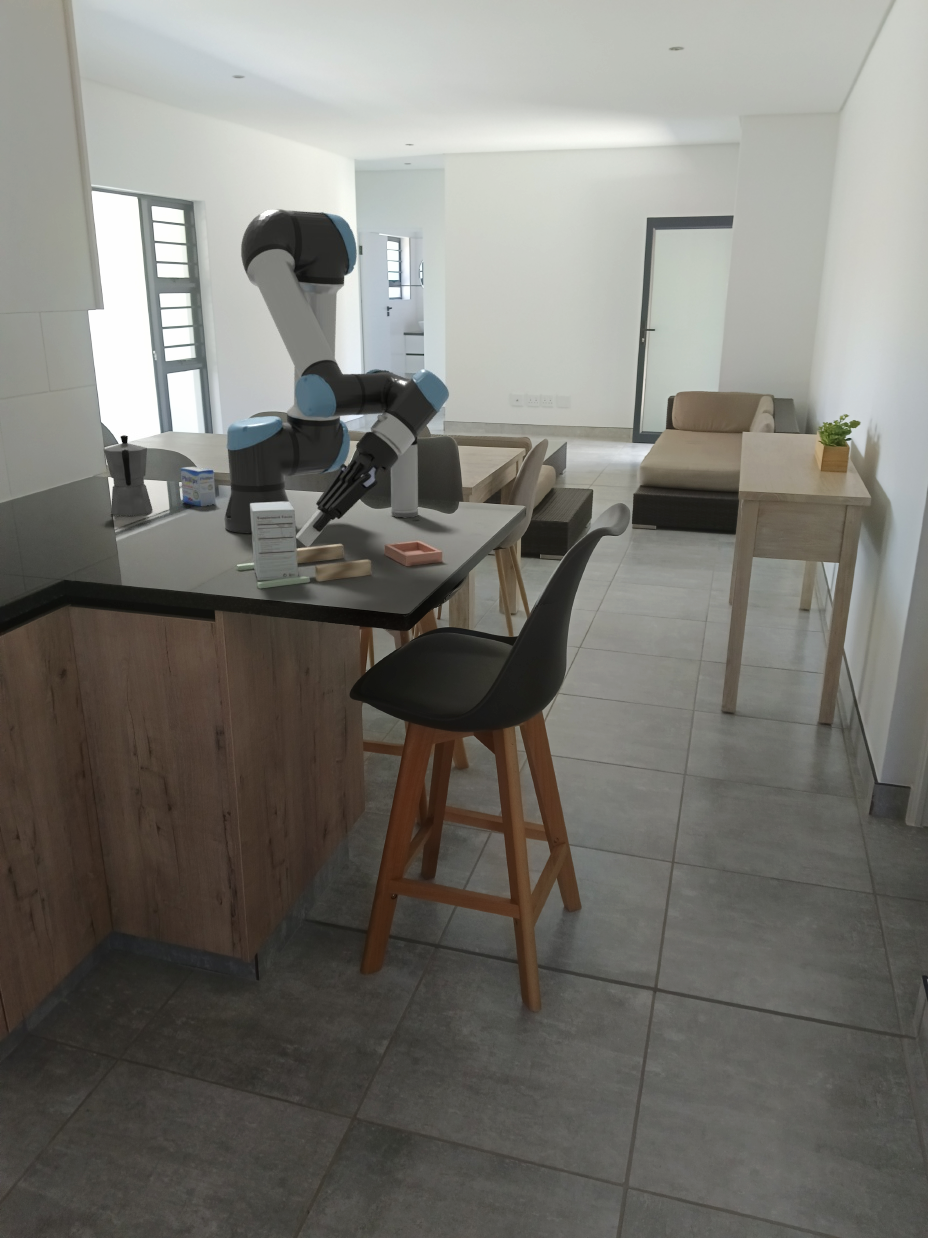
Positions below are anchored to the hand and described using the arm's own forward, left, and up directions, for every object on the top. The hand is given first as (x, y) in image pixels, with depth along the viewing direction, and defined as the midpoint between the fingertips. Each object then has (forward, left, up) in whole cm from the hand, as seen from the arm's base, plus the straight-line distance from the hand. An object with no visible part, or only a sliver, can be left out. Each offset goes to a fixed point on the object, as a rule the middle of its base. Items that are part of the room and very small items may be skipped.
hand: (301, 542), depth 166 cm
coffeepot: (-61, +35, -6) cm, 70 cm away
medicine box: (-53, +51, -6) cm, 73 cm away
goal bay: (-4, -4, -6) cm, 8 cm away
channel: (+4, +5, -6) cm, 8 cm away
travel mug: (0, +54, -6) cm, 54 cm away
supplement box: (-4, -3, -6) cm, 8 cm away
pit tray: (+16, +16, -6) cm, 23 cm away
